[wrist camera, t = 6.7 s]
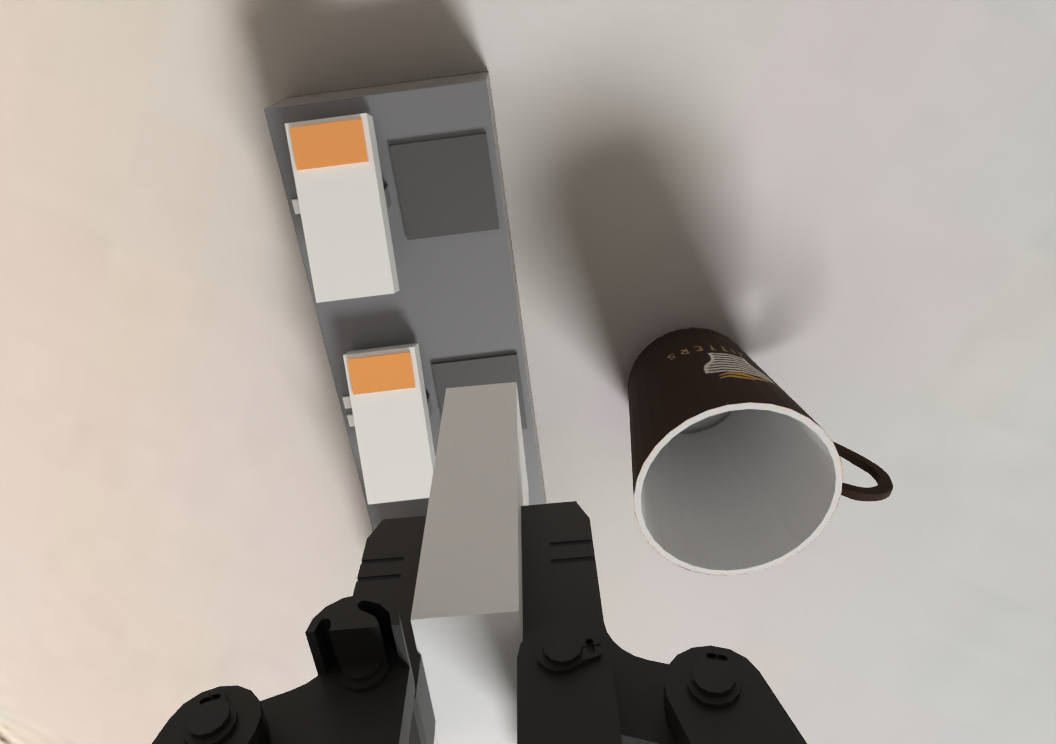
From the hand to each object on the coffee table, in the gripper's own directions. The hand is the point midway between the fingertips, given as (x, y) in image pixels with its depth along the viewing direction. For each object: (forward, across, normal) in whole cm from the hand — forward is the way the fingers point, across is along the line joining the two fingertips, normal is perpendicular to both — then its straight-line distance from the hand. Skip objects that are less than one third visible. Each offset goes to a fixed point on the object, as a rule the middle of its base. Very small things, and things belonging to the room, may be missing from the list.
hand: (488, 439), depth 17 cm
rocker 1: (+17, -6, +1) cm, 18 cm away
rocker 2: (+16, -6, -9) cm, 20 cm away
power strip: (+22, -4, -13) cm, 26 cm away
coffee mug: (+22, +10, -12) cm, 27 cm away
